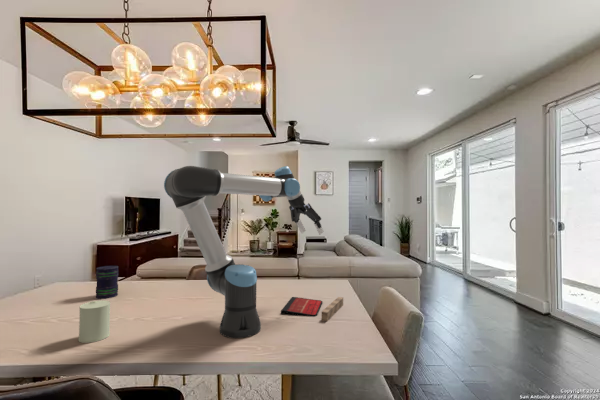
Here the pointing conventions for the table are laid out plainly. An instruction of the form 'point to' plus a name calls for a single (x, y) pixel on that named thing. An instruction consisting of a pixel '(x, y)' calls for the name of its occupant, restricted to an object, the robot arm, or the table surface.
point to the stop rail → (332, 309)
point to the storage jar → (107, 282)
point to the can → (94, 321)
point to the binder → (302, 307)
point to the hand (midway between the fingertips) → (312, 232)
